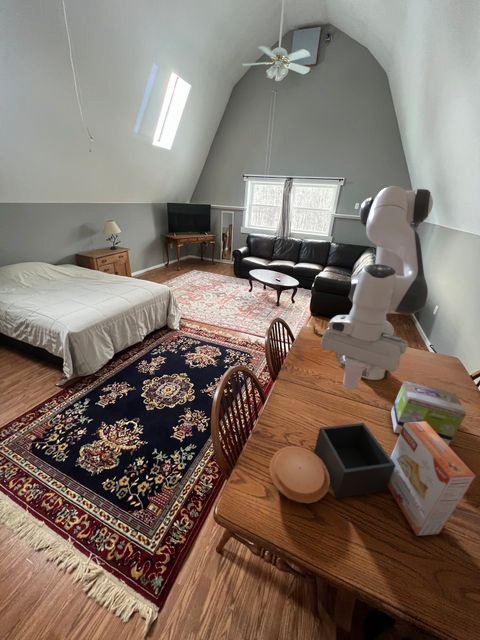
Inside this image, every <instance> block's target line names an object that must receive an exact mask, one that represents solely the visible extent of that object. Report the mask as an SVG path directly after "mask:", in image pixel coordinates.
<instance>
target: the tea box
mask: <svg viewBox="0 0 480 640" xmlns="http://www.w3.org/2000/svg"><path fill="white" fill-rule="evenodd" d="M395 398H396V399H395V401H394V404H393V405H392V408H391V411H390V416H391V421H392V427H393V428H392V429H393V433H396V434H399V435H400V433H401V430H402V428H403V425H404V423H407V422H427V423H428V424H429V426H430V427H431V428H432V429H433V430H434V431H435V432H436V433H437V434H438V435H439V437H440V438H441V439H442V440H443V441H444V442H445V443H446V444H447V445H448V446H449V445H450V443H451V442H452V440H453V439H454V436H456V433H457V431H458V429H459V428H460V427H461V424H462V423H463V422H464V419H465V417H466V415H467V413H466V410H465V409H464V406H463V405H462V403H461V401H460V399H459V397H458V395H457V393H454V392H451V391H447V390H443V389H438V388H435V387H430V386H426V385H422V384H420V383H415V382H410V381H406V380H403V381H402V384H401V386H400V389H399V391H398V393H397V396H396V397H395Z"/></svg>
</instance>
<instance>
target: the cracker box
mask: <svg viewBox="0 0 480 640" xmlns="http://www.w3.org/2000/svg"><path fill="white" fill-rule="evenodd" d="M389 457H390V459H391V460H392V461H393V463H394V464H395V468H394V470H393V472H392V475H391V477H390V479H389V482H388V484H387V486H386V487H387V488H388V490H389V491H390V493H391V495H392V497H393V499H394V500H395V502H396V504H397V506H398V507H399V509H400V510H401V512H402V514H403V516H404V517H405V519H406V521H407V523H408V524H409V526H410V528H411V529H412V531H413V533H414V535H415V536H416V537H419V536H430V535H431V536H432V535H440V533H441V532H442V530H443V528H444V527H445V525H446V524H447V523H448V520H449V519H450V518H451V516H452V514H453V513H454V511H455V510H456V509H457V506H458V505H459V504H460V502H461V500H462V498H463V497H464V496H465V494H466V493H467V491H468V490H469V488H470V486H471V485H472V483H473V482H474V480H475V478H476V475H475V473H474V472H472V470H471V469H470V468H469V467H468V466H467V465H466V463H464V461H463V460H462V459H461V458H460V457H459V456H458V454H456V453H455V451H453V450H452V448H451V447H450V446H449V445H447V444H446V443H445V442H444V441H443V440H442V439H441V438H440V437H439V435H438V434H437V433H436V432H435V431H434V430H433V429H432V428H431V427H430V426H429V424H428V423H427V422H407V423H404V425H403V428H402V430H401V433H400V434H399V436H398V438H397V440H396V443H395V445H394V448H393V450H392V452H391V455H390V456H389Z"/></svg>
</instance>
